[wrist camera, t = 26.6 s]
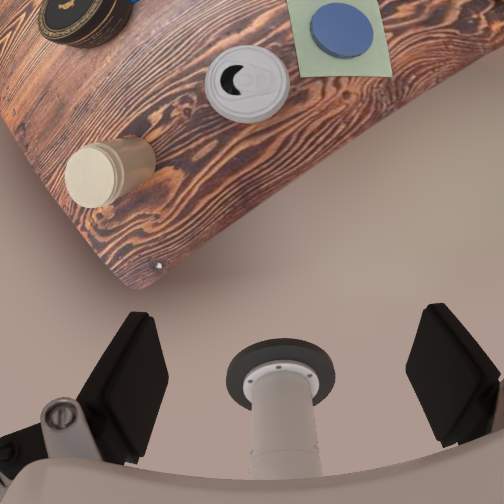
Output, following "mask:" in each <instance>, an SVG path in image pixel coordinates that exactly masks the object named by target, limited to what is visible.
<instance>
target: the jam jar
mask: <svg viewBox="0 0 504 504" xmlns="http://www.w3.org/2000/svg"><path fill="white" fill-rule="evenodd" d="M155 167H156V156H155V152H154V150H153V148H152V147H151V145H150V144H149V143H148V142H147V141H146V140H144V139H142V138H139V137H125V138H119V139H112V140H106V141H100V142H95V143H90V144H87V145H85V146H84V147H82V148H79V150H78V151H76V152H75V153H74V154H73V155H72V156H71V158H70V159H69V161H68V163H67V166H66V169H65V184H66V188H67V190H68V193H69V194H70V196H71V197H72V199H73V200H74V201H75V202H76V203H78V204H79V205H81V206H83V207H86V208H96V207H103V206H107V205H109V204H111V203H112V202H114V201H116V200H117V199H119V198H121V197H122V196H124V195H126V194H127V193H129V192H131V191H133V190H134V189H136V188H138V187H140V186H142V185H143V184H145V183H146V182H148V181H149V179H150V178H151V177H152V175H153V173H154V171H155Z"/></svg>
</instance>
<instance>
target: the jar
mask: <svg viewBox="0 0 504 504" xmlns="http://www.w3.org/2000/svg"><path fill="white" fill-rule="evenodd" d="M130 11H131V0H44V1H43V3H42V5H41V8H40V11H39V15H38V28H39V31H40V33H41V34H42V36H43V37H45V38H46V39H48V40H50V41H53V42H54V43H57V44H61V45H68V46H72V47H75V48H91V47H96V46H99V45H102V44H104V43H105V42H107V41H109V40H110V39H112V38H113V37H114V36H115V35H116V34H117V33H118V32H119V31H120V30H121V29H122V27H123V26H124V25H125V23H126V21H127V19H128V17H129V15H130Z"/></svg>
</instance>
